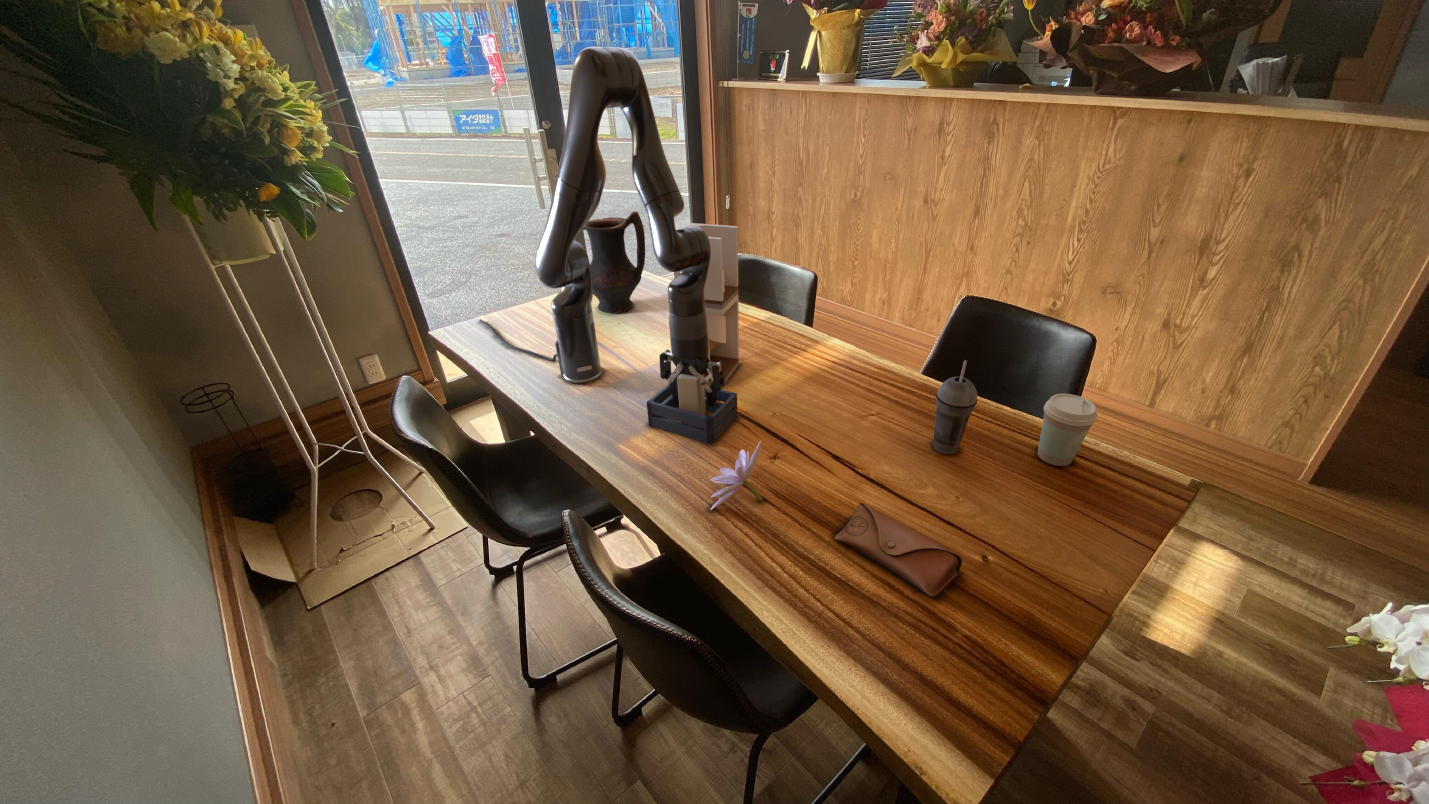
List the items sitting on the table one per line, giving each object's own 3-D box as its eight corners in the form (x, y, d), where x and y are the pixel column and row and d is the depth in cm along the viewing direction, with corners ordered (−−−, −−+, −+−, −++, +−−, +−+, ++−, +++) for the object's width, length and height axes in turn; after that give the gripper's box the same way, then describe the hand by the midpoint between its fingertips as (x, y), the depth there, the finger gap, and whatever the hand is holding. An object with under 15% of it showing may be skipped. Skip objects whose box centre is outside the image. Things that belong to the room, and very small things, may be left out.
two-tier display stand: (681, 376, 142) (671, 235, 124) (698, 358, 150) (691, 223, 132) (724, 383, 138) (720, 239, 120) (739, 364, 146) (737, 226, 128)
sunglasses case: (830, 538, 92) (845, 501, 92) (849, 535, 98) (863, 499, 97) (935, 600, 82) (954, 559, 81) (950, 593, 87) (967, 554, 86)
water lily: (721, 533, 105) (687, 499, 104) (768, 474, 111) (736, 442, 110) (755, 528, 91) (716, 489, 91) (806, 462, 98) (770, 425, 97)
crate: (648, 425, 123) (646, 402, 120) (677, 400, 132) (675, 378, 129) (711, 444, 117) (710, 419, 114) (737, 416, 125) (737, 393, 122)
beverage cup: (964, 440, 115) (986, 351, 105) (965, 461, 110) (988, 369, 99) (926, 434, 117) (944, 346, 107) (925, 454, 112) (943, 364, 101)
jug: (576, 318, 176) (560, 219, 160) (596, 296, 191) (583, 204, 176) (642, 321, 172) (632, 219, 157) (658, 298, 188) (650, 204, 172)
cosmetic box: (700, 430, 121) (697, 380, 115) (680, 428, 122) (676, 378, 116) (706, 414, 127) (704, 365, 120) (687, 412, 127) (683, 364, 121)
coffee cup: (1060, 476, 105) (1080, 421, 99) (1019, 452, 111) (1036, 399, 105) (1089, 462, 108) (1110, 408, 102) (1048, 439, 115) (1066, 387, 109)
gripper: (729, 329, 113) (731, 400, 121) (668, 318, 119) (674, 386, 127) (710, 344, 107) (714, 417, 116) (648, 332, 114) (655, 402, 122)
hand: (693, 401), depth 122 cm, fingers open, 8 cm apart
